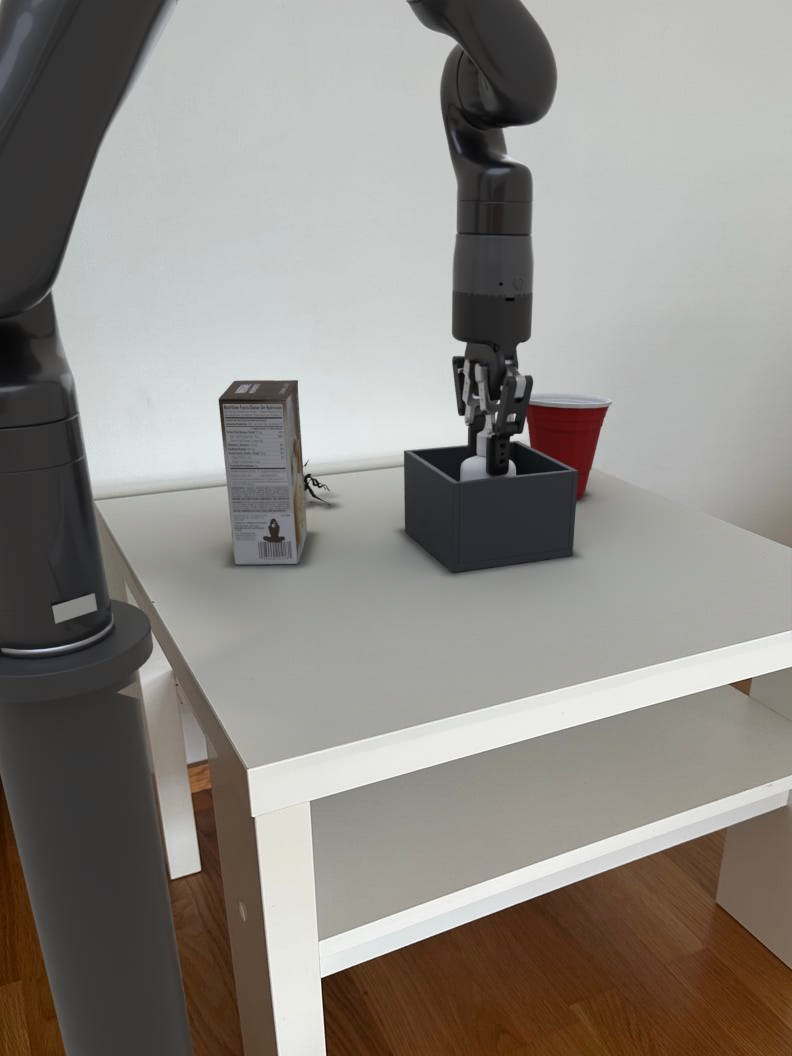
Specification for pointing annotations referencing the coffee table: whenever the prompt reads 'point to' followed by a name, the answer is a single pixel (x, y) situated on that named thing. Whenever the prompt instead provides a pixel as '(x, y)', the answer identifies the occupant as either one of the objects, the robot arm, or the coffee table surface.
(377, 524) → the coffee table surface
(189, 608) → the coffee table surface
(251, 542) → the coffee box
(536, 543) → the bin
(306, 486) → the creature
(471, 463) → the eye dropper bottle
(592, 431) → the plastic cup
